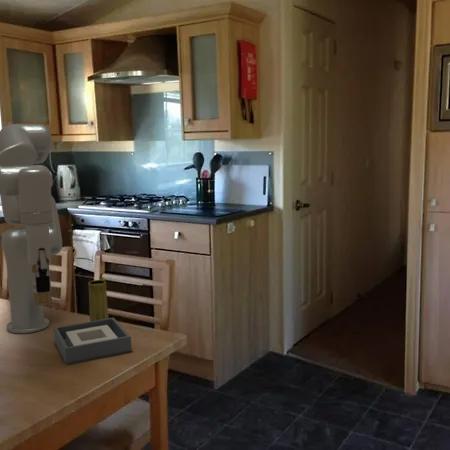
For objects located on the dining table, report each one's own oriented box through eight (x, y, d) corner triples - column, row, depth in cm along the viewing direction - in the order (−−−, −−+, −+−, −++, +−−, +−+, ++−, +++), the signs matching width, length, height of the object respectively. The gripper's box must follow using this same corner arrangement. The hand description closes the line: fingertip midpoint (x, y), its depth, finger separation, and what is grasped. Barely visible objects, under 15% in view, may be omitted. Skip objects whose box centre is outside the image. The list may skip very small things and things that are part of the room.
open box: (54, 342, 157) (53, 327, 156) (114, 331, 165) (113, 317, 164) (66, 365, 142) (65, 348, 141) (131, 352, 149) (130, 336, 148)
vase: (111, 322, 173) (109, 279, 170) (105, 329, 167) (103, 284, 164) (93, 322, 173) (90, 279, 171) (86, 329, 167) (84, 284, 165)
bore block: (66, 341, 156) (65, 331, 155) (107, 334, 161) (107, 324, 160) (74, 356, 145) (74, 346, 145) (118, 348, 150) (118, 338, 150)
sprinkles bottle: (54, 303, 137) (51, 252, 135) (36, 307, 135) (32, 254, 132) (49, 299, 141) (46, 248, 139) (31, 302, 139) (27, 251, 136)
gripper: (17, 214, 140) (22, 282, 143) (24, 224, 125) (30, 300, 128) (47, 212, 143) (52, 279, 146) (58, 222, 128) (63, 296, 131)
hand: (42, 288), depth 137 cm, fingers closed on sprinkles bottle, 4 cm apart
